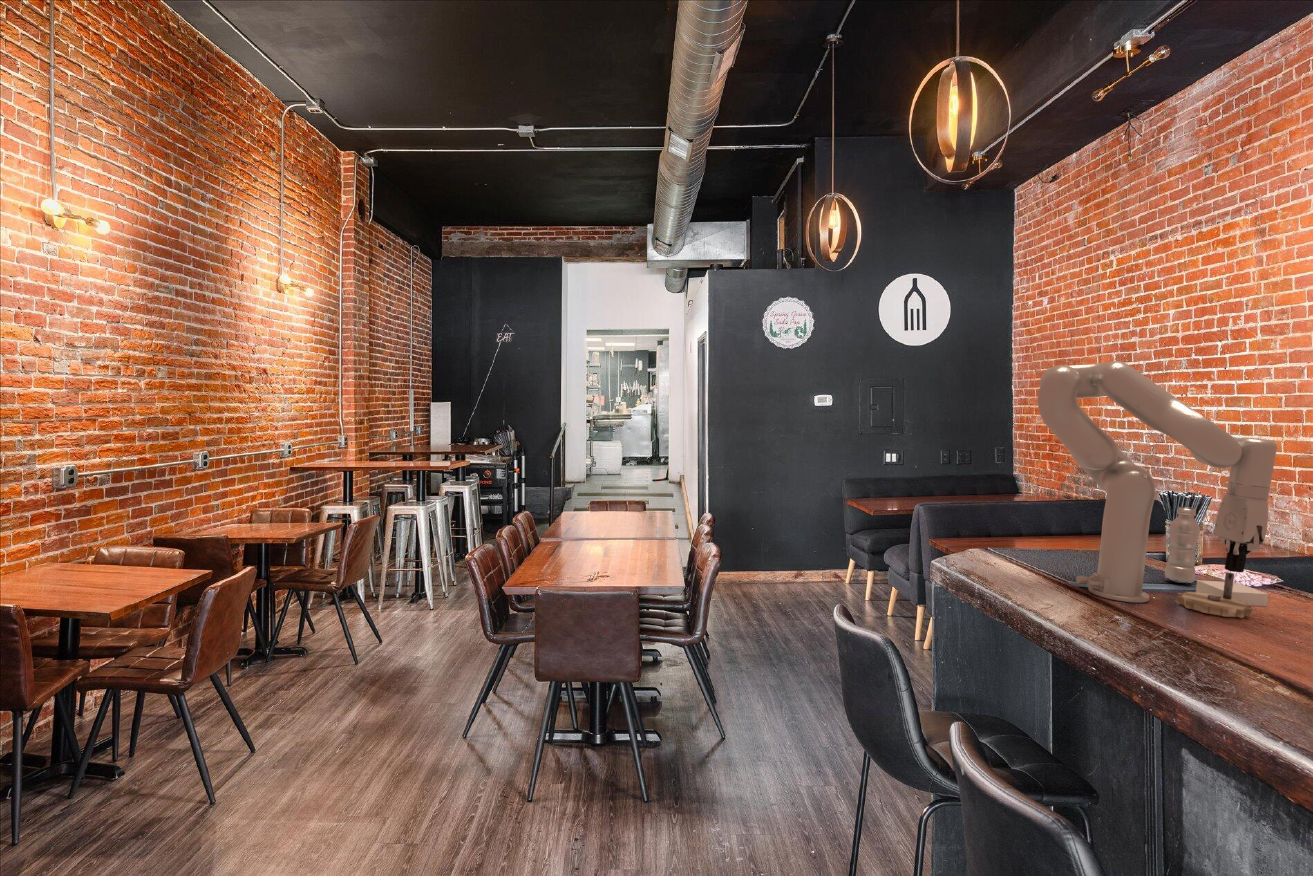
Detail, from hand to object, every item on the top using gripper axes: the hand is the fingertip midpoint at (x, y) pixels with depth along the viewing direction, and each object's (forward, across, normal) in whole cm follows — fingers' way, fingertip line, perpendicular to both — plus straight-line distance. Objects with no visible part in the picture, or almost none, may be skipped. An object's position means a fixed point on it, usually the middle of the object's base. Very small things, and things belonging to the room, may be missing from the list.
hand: (1233, 570), depth 173 cm
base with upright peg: (+10, 0, -3) cm, 10 cm away
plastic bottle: (+10, -24, +5) cm, 26 cm away
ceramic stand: (+9, -11, +9) cm, 17 cm away
